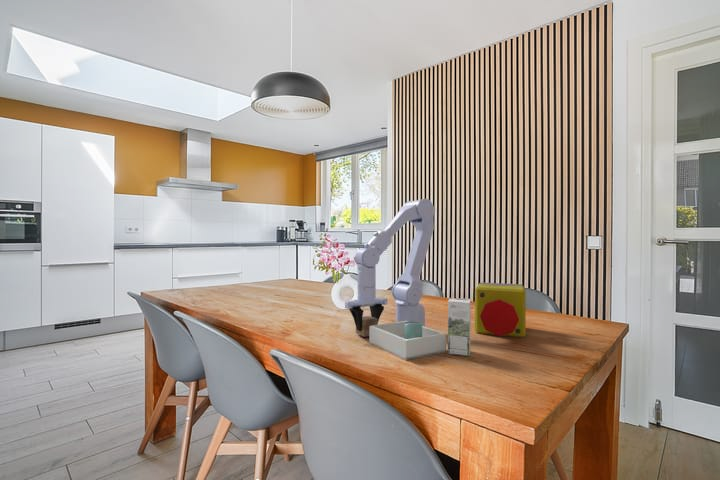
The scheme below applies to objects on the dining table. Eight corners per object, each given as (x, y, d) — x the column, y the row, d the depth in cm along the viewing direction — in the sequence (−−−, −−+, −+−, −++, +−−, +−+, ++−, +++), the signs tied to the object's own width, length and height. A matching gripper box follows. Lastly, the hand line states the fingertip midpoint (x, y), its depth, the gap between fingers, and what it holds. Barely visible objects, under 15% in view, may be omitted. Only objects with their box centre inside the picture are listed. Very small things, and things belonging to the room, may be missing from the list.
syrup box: (470, 350, 101) (471, 298, 101) (469, 357, 95) (470, 301, 95) (449, 348, 103) (449, 296, 103) (447, 355, 97) (447, 300, 97)
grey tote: (406, 336, 115) (406, 320, 115) (446, 352, 100) (446, 333, 99) (369, 342, 108) (369, 325, 108) (405, 360, 93) (405, 340, 93)
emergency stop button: (472, 340, 111) (472, 291, 110) (478, 323, 133) (478, 282, 133) (526, 346, 105) (527, 294, 105) (523, 327, 127) (523, 284, 127)
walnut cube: (369, 331, 119) (369, 315, 119) (377, 334, 115) (377, 318, 115) (355, 333, 117) (355, 317, 117) (363, 336, 112) (363, 320, 112)
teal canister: (416, 345, 103) (416, 320, 103) (426, 350, 98) (425, 324, 98) (400, 347, 101) (400, 322, 101) (409, 352, 97) (409, 326, 97)
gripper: (379, 283, 123) (379, 323, 123) (340, 286, 116) (340, 329, 116) (391, 285, 117) (391, 328, 117) (351, 289, 109) (351, 334, 110)
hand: (366, 329), depth 116 cm, fingers closed on walnut cube, 5 cm apart
